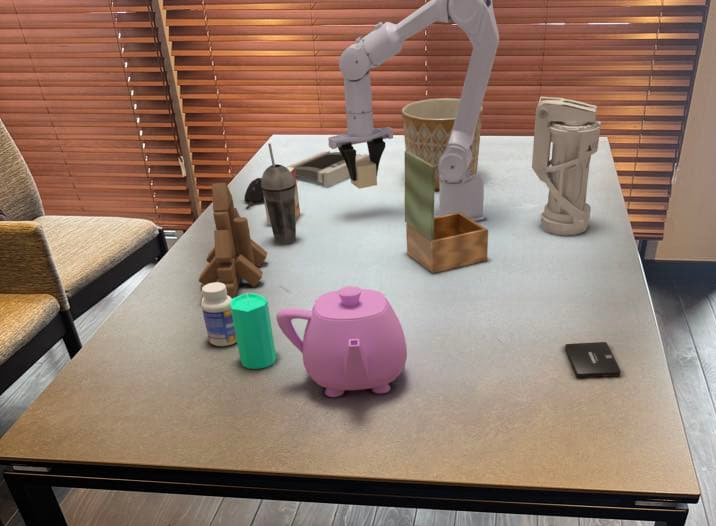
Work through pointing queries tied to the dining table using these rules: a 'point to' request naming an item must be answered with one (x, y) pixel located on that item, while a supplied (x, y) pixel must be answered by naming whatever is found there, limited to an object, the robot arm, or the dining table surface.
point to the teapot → (349, 340)
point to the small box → (297, 208)
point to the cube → (365, 174)
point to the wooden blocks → (231, 246)
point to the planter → (434, 131)
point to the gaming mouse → (254, 193)
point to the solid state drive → (592, 359)
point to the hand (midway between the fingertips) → (363, 177)
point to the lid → (419, 194)
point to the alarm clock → (325, 167)
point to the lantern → (565, 161)
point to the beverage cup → (280, 201)
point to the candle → (253, 330)
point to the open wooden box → (449, 243)
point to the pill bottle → (218, 314)
